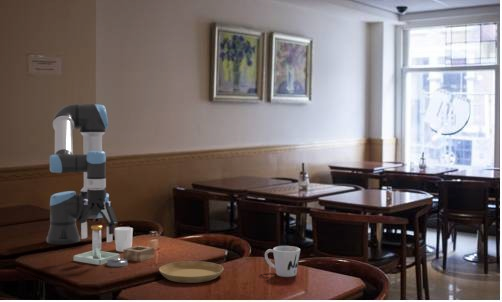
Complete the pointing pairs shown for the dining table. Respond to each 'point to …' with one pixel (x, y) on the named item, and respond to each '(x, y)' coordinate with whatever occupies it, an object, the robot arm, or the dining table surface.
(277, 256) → the mug
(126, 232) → the white cup
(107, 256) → the tray
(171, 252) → the dining table surface
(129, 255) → the socket block
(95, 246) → the glass jar
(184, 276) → the plant saucer
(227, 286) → the dining table surface
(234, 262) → the dining table surface
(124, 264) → the pulley wheel
